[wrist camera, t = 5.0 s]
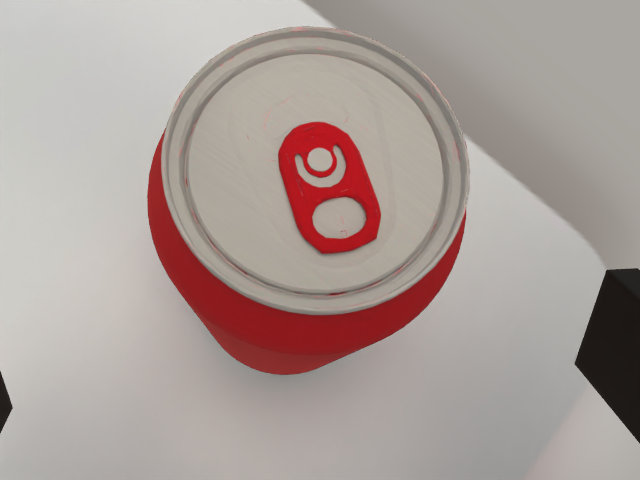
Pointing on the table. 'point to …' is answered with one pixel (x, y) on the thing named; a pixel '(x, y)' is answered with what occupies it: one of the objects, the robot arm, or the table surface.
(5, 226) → the table surface
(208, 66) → the beverage can
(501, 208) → the table surface
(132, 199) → the table surface
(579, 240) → the table surface
